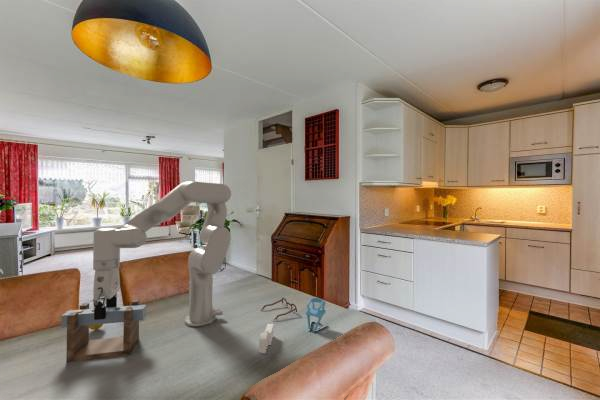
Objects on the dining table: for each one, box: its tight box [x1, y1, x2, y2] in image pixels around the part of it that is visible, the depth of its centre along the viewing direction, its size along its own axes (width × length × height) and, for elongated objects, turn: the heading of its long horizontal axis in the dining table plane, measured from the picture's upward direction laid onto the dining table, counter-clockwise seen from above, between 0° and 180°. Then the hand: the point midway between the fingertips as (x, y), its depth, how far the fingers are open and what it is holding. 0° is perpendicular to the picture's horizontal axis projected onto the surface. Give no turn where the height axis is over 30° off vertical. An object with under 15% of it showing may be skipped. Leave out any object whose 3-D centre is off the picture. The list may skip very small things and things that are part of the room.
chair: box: [305, 297, 327, 332], centre depth 113 cm, size 8×8×12 cm
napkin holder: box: [258, 323, 274, 354], centre depth 99 cm, size 15×11×6 cm
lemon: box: [89, 324, 104, 331], centre depth 106 cm, size 6×6×8 cm
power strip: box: [60, 304, 147, 328], centre depth 93 cm, size 24×4×4 cm, turn 106°
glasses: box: [261, 297, 298, 321], centre depth 127 cm, size 13×13×5 cm
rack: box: [65, 299, 140, 363], centre depth 93 cm, size 18×10×15 cm, turn 106°
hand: (105, 313), depth 93 cm, fingers open, 8 cm apart
